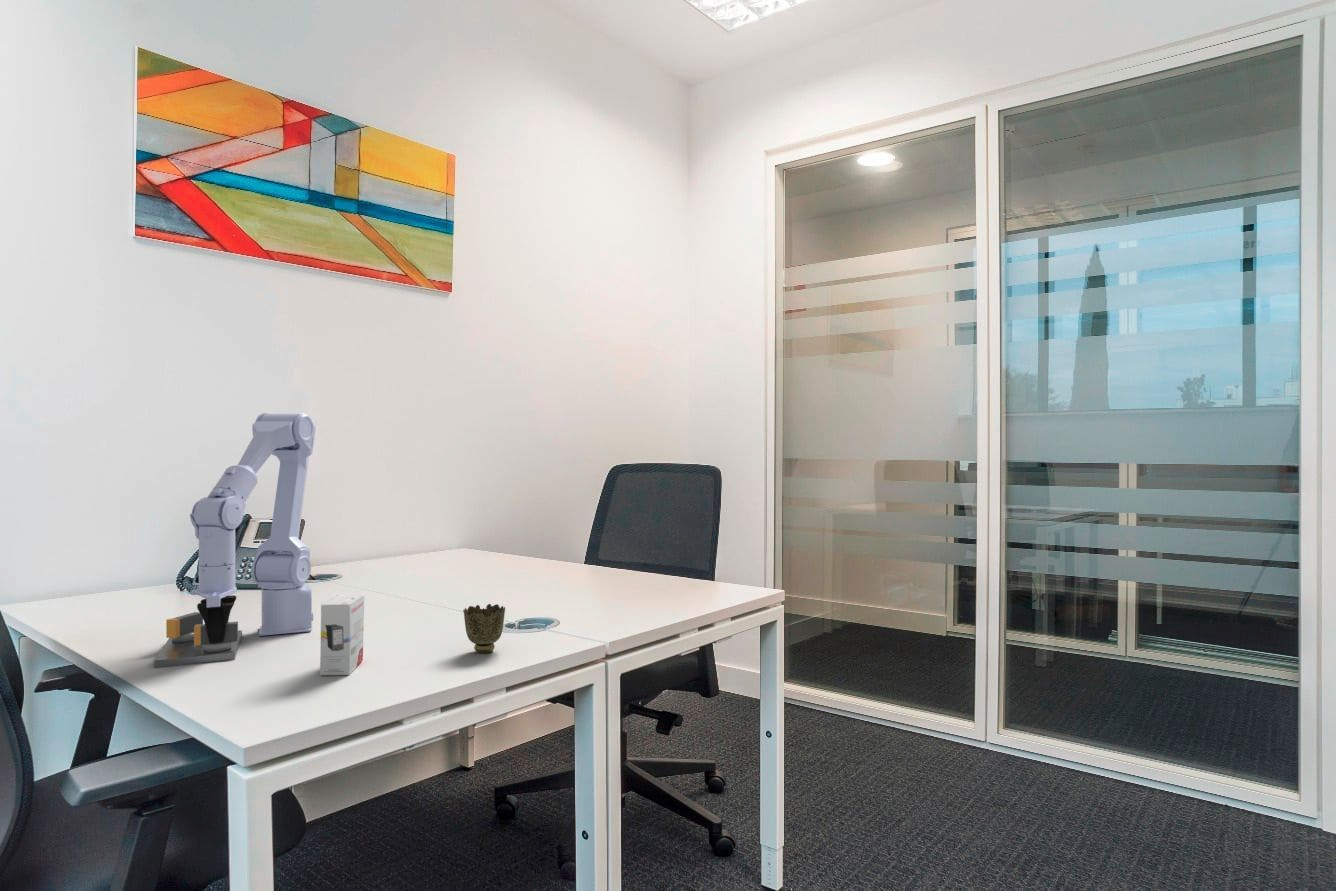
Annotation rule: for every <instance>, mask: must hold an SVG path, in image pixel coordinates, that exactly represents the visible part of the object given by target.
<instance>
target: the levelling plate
mask: <svg viewBox="0 0 1336 891" xmlns="http://www.w3.org/2000/svg"><path fill="white" fill-rule="evenodd" d="M242 632H243V630H242V629H241V630H240V629H238V641H236V642H231V648H230V649H228V650H224V651H218V652H205V651H203V645H196V646H194V641H190V642H172V638H167V641H166V642H165V644H164V646H162V648H161V650H160V651H159V653H158V655H157V656H156V657H155V659H154V661H153V662H154V664H153V666H154V668H164V667H165V668H166V667H173V666H183V665H185V666H186V665H193V664H205V663H213V662H221V661H222V662H224V661H232V660H236V656H237V653H238V650H239V648H240V643H241V641H242V638H243V637H242V636H243V633H242Z"/></svg>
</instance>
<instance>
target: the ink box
mask: <svg viewBox="0 0 1336 891" xmlns="http://www.w3.org/2000/svg"><path fill="white" fill-rule="evenodd" d="M320 606H321V607H320V653H319V654H320V655H319V656H320V662H319V663H320V664H319V665H320V666H319V674H320V676H350V675H351V674H352V673H353V672H354V671H355V670H356V669H357V667H359V665H360V664H361V663H362V662H363V660H364V630H365V629H364V625H365V622H364V621H365V595H364V594H343V595H341V594H339V595H336V596H334V597H332V598H331V599H329V600H327V601H326V602H323V603H322V604H321V605H320Z"/></svg>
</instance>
